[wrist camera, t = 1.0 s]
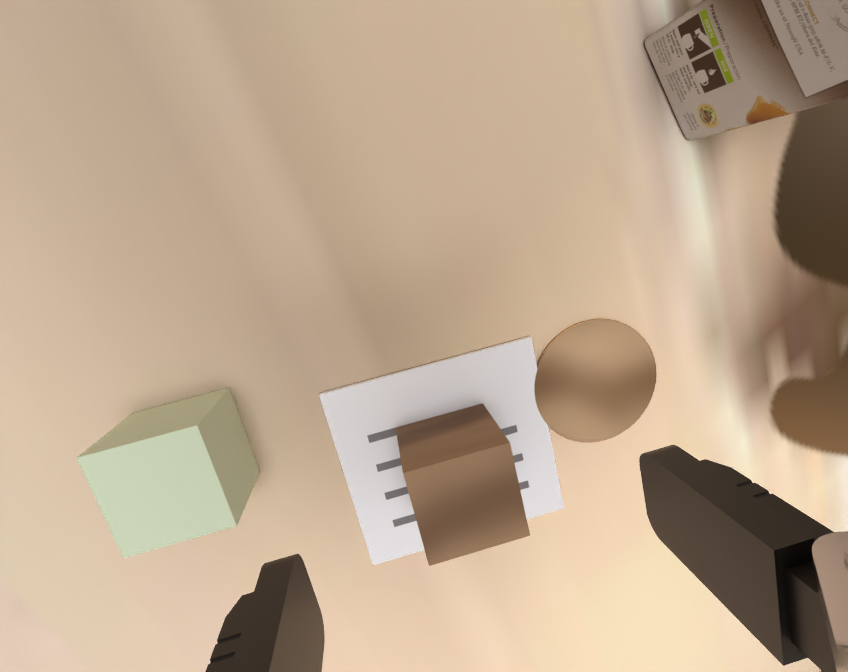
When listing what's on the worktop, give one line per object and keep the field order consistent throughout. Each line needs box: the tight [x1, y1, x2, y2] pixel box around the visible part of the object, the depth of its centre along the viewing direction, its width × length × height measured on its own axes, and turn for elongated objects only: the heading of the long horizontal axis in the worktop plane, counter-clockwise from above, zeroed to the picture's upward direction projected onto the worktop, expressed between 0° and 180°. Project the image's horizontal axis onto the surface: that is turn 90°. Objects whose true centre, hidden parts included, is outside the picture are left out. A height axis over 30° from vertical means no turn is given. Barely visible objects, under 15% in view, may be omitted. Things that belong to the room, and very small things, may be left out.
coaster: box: [534, 319, 656, 442], centre depth 30 cm, size 8×8×1 cm
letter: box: [319, 336, 564, 565], centre depth 29 cm, size 12×13×1 cm
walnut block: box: [396, 403, 530, 566], centre depth 27 cm, size 6×6×6 cm
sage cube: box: [77, 387, 260, 558], centre depth 25 cm, size 6×6×6 cm
